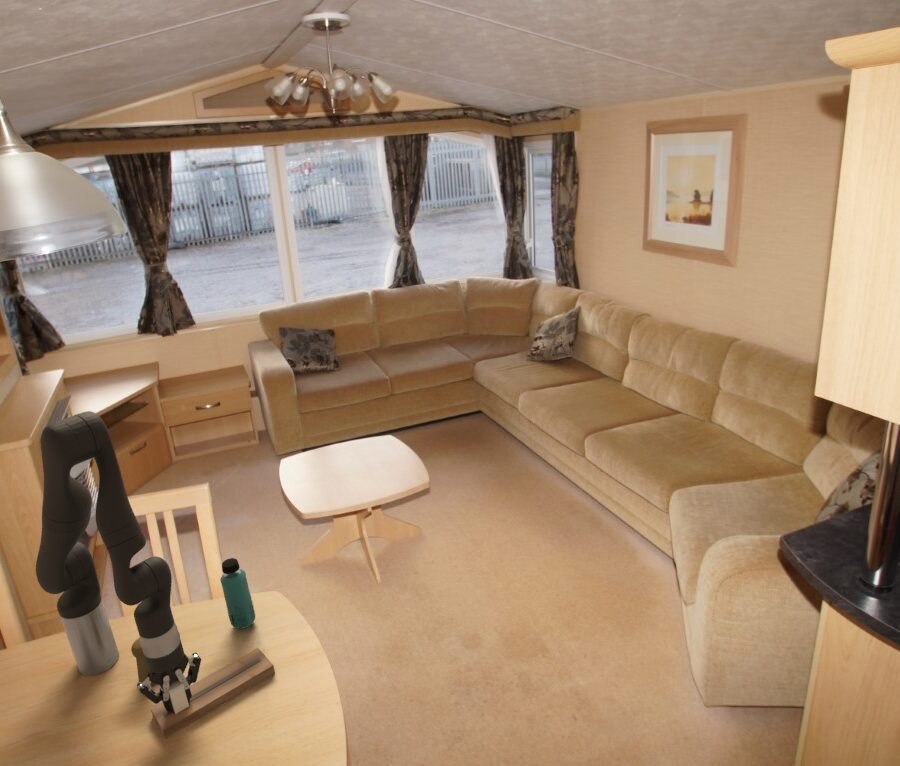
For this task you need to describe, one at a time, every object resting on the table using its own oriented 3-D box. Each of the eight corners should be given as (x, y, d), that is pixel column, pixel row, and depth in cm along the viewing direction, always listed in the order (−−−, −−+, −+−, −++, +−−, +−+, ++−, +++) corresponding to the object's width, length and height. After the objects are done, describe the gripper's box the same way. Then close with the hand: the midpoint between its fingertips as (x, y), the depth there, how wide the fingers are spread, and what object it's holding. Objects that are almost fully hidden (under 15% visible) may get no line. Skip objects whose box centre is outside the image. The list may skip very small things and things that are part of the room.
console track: (152, 716, 153) (150, 708, 152) (259, 655, 168) (257, 647, 167) (165, 738, 147) (162, 729, 146) (275, 673, 162) (273, 664, 161)
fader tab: (168, 703, 152) (161, 680, 150) (182, 695, 154) (176, 672, 152) (175, 714, 149) (168, 691, 147) (189, 706, 151) (183, 683, 149)
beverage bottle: (262, 618, 180) (248, 555, 173) (247, 636, 175) (232, 571, 167) (241, 614, 183) (226, 552, 175) (225, 631, 177) (210, 567, 169)
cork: (156, 688, 160) (145, 652, 156) (133, 686, 162) (122, 649, 158) (171, 669, 166) (160, 633, 162) (148, 666, 167) (138, 631, 163)
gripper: (187, 618, 152) (202, 678, 159) (121, 651, 144) (141, 713, 150) (200, 635, 147) (216, 696, 153) (133, 671, 139) (152, 734, 145)
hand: (178, 704), depth 152 cm, fingers closed on fader tab, 3 cm apart
